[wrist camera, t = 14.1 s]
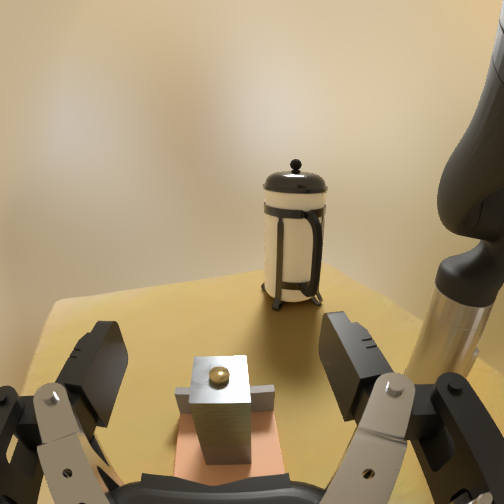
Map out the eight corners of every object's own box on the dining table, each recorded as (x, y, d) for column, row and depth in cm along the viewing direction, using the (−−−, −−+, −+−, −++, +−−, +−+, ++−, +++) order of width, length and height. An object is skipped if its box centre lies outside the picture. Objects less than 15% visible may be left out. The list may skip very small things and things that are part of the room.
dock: (270, 404, 35) (272, 375, 33) (285, 484, 23) (291, 463, 21) (183, 406, 34) (175, 377, 32) (175, 487, 22) (162, 466, 20)
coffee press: (241, 301, 62) (238, 158, 51) (280, 276, 74) (283, 157, 63) (312, 328, 52) (324, 162, 41) (342, 295, 64) (355, 162, 53)
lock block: (247, 424, 30) (246, 350, 26) (251, 463, 25) (250, 397, 20) (207, 425, 30) (193, 351, 26) (206, 464, 24) (187, 398, 20)
